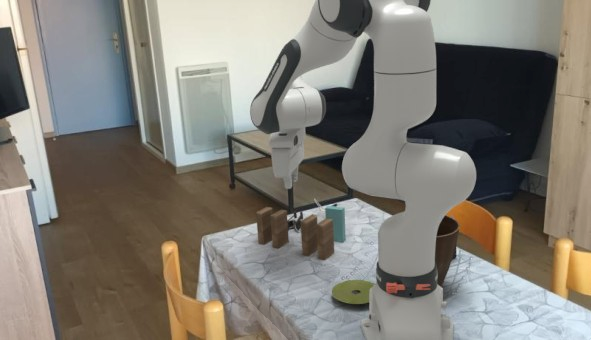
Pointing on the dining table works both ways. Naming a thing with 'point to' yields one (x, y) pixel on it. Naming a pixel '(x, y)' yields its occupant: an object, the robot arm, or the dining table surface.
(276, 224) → the walnut tile
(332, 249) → the walnut tile
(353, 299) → the green disc
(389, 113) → the robot arm
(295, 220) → the clip-on lamp
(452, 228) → the plant pot
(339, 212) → the teal tile
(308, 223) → the walnut tile
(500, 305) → the dining table surface
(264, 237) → the walnut tile
